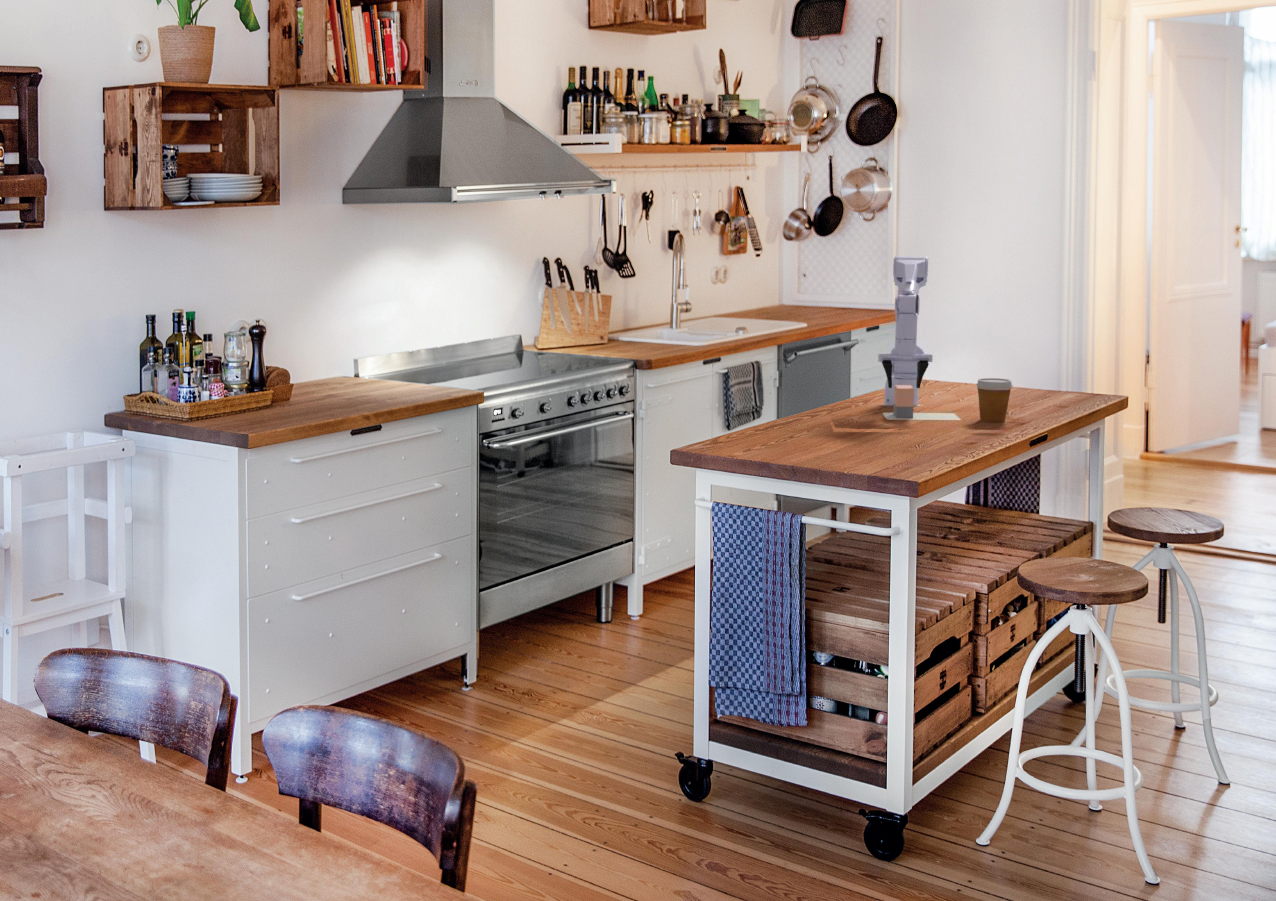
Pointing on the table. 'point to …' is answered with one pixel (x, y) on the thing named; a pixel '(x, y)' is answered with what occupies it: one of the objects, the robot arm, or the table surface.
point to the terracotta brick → (903, 395)
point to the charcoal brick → (903, 412)
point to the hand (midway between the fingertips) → (904, 387)
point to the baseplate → (925, 416)
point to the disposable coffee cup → (993, 398)
